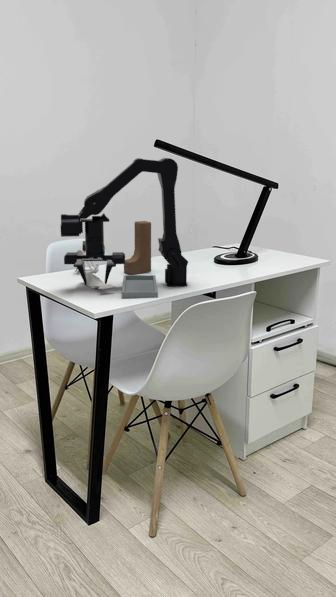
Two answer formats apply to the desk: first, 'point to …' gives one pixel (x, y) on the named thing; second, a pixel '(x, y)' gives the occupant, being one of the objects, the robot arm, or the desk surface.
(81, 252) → the portable electronic device stand
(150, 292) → the razor tray
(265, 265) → the desk surface
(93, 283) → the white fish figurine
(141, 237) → the brown boot
